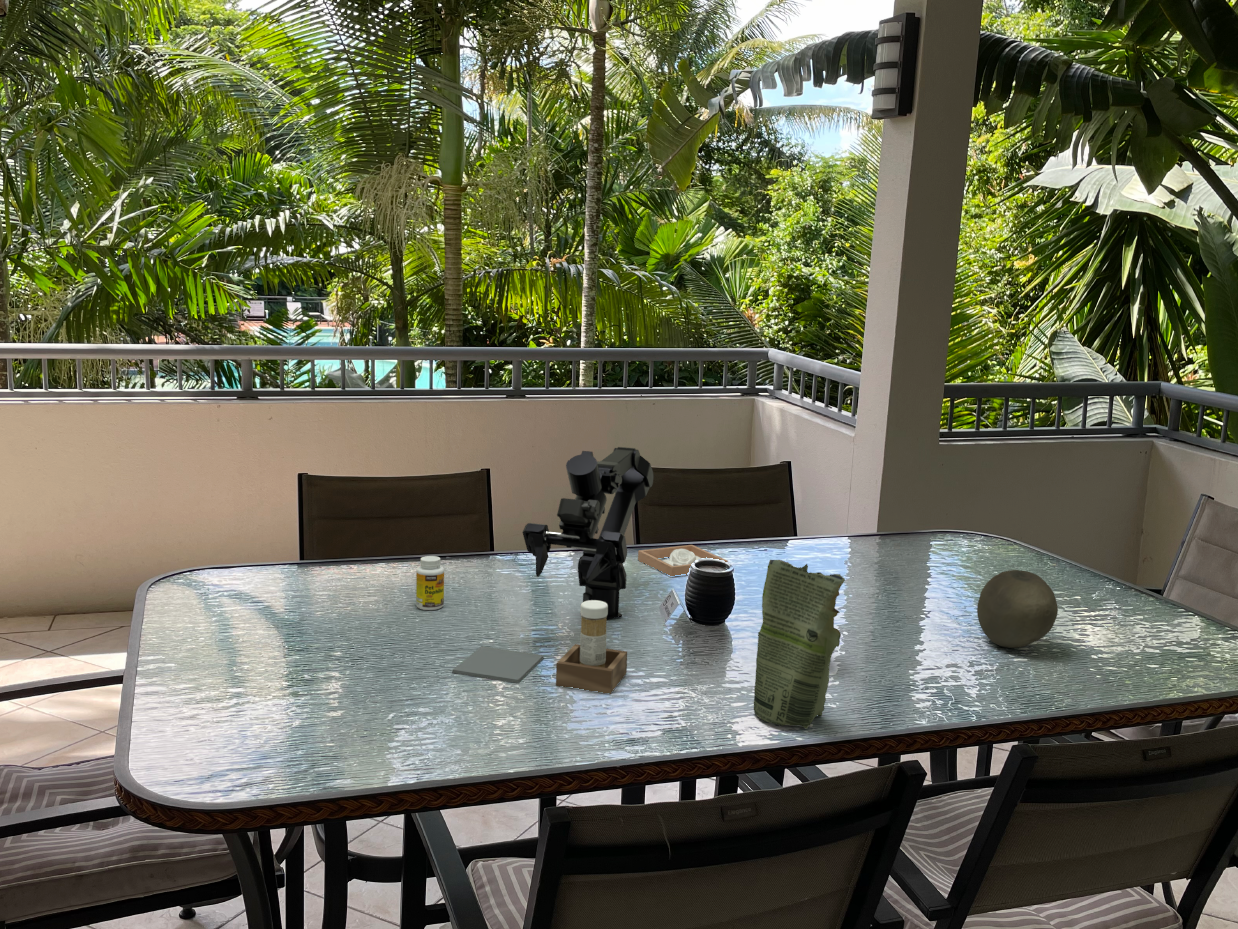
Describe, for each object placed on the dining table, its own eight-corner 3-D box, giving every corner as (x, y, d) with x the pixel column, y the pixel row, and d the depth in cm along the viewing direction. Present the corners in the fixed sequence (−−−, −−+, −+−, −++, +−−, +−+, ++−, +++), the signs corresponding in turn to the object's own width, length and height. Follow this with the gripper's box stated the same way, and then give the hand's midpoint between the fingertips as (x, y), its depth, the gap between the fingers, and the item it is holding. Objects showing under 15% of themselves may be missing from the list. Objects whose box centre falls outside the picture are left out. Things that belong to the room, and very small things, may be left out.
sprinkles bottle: (598, 673, 171) (601, 598, 169) (609, 682, 167) (612, 606, 165) (574, 676, 169) (576, 600, 167) (585, 686, 165) (587, 609, 163)
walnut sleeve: (574, 665, 174) (575, 644, 173) (626, 673, 171) (627, 651, 171) (555, 685, 165) (556, 663, 164) (610, 694, 162) (611, 671, 162)
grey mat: (481, 649, 180) (481, 646, 180) (543, 658, 177) (543, 655, 177) (452, 673, 169) (452, 669, 169) (518, 683, 165) (518, 679, 165)
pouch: (749, 701, 162) (759, 552, 157) (823, 704, 162) (835, 555, 157) (757, 731, 151) (767, 572, 146) (836, 734, 151) (849, 575, 146)
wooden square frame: (691, 554, 250) (692, 544, 249) (727, 570, 236) (727, 560, 236) (637, 560, 242) (638, 550, 242) (671, 577, 229) (671, 567, 229)
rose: (693, 543, 245) (712, 553, 236) (692, 560, 246) (711, 571, 237) (656, 545, 241) (674, 556, 232) (656, 563, 242) (673, 574, 233)
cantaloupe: (973, 653, 188) (981, 576, 185) (974, 630, 201) (981, 558, 198) (1054, 665, 183) (1063, 587, 180) (1049, 641, 196) (1058, 567, 193)
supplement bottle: (422, 612, 199) (422, 563, 197) (412, 604, 203) (412, 556, 201) (448, 608, 202) (448, 560, 200) (437, 601, 206) (437, 553, 204)
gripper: (530, 478, 182) (503, 541, 171) (629, 488, 177) (607, 553, 166) (541, 520, 189) (515, 583, 179) (635, 530, 185) (615, 595, 174)
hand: (561, 578), depth 174 cm, fingers open, 9 cm apart
